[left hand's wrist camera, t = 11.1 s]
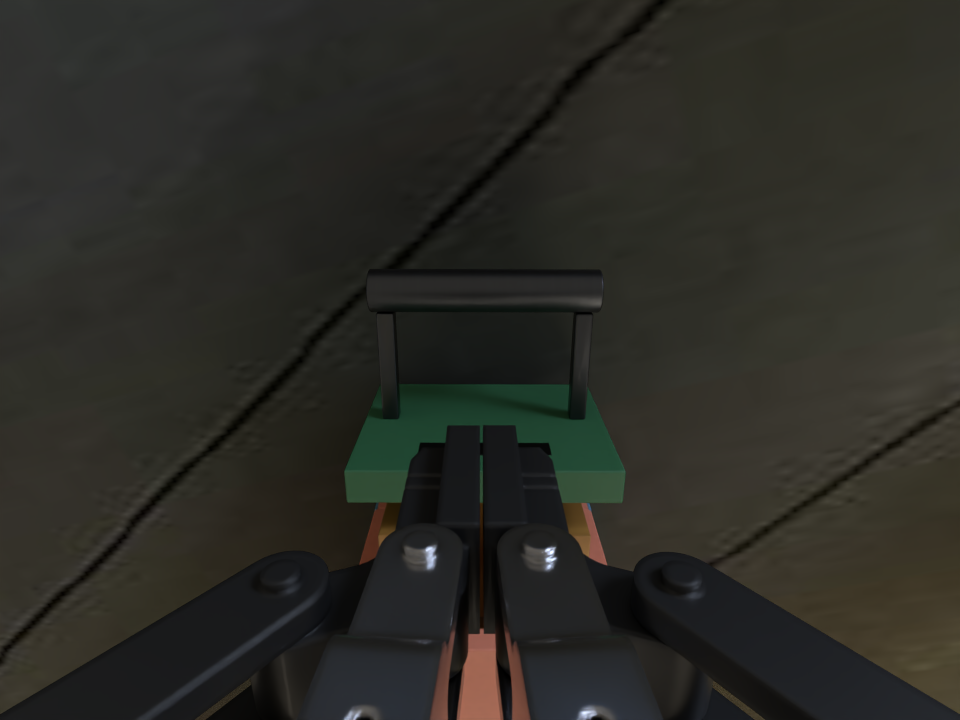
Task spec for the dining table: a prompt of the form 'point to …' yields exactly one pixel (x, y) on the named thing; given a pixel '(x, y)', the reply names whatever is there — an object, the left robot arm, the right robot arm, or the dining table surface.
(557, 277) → the drawer
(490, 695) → the cabinet
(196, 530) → the dining table surface
